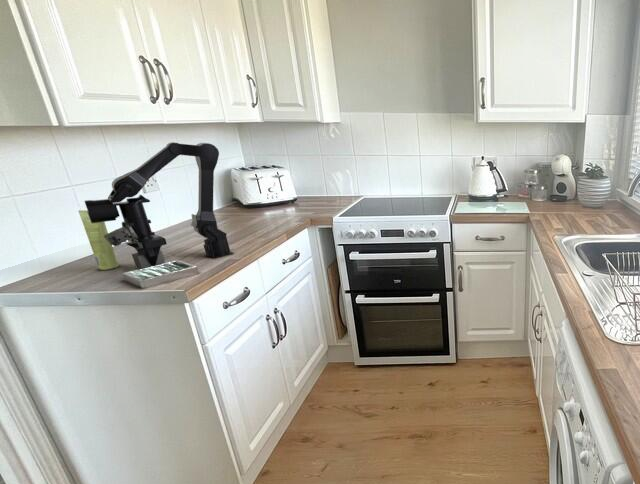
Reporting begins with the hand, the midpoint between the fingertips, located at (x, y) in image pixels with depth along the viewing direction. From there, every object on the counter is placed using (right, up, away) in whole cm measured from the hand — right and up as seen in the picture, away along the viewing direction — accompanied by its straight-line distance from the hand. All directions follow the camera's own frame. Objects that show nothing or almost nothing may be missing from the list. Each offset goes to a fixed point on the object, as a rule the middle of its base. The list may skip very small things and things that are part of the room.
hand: (150, 263), depth 137 cm
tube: (-15, -2, +1) cm, 15 cm away
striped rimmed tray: (+10, -4, -7) cm, 13 cm away
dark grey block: (0, -1, 0) cm, 1 cm away
